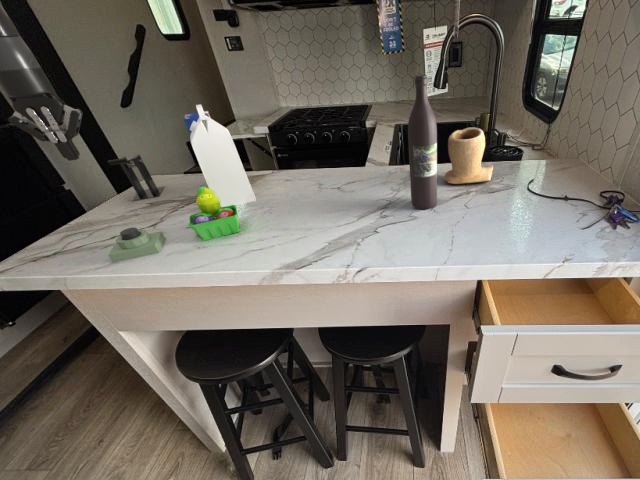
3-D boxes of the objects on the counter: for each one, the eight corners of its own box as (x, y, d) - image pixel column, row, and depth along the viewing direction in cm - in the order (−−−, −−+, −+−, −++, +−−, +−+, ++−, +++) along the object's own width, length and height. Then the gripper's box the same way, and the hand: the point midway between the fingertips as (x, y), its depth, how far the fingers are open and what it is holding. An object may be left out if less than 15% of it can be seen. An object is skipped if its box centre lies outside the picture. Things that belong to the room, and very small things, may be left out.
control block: (113, 262, 80) (102, 248, 77) (122, 247, 86) (113, 233, 83) (159, 253, 82) (150, 238, 80) (165, 238, 88) (157, 224, 86)
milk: (256, 200, 104) (223, 105, 88) (217, 210, 101) (174, 112, 84) (251, 189, 113) (219, 100, 96) (215, 197, 109) (175, 106, 93)
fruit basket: (198, 244, 84) (175, 201, 77) (198, 230, 90) (177, 189, 83) (245, 232, 87) (228, 190, 80) (242, 220, 94) (226, 179, 87)
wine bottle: (412, 210, 91) (405, 78, 72) (410, 200, 96) (404, 75, 77) (438, 208, 91) (438, 76, 72) (435, 198, 96) (435, 72, 77)
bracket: (160, 199, 111) (139, 159, 103) (133, 204, 109) (109, 164, 101) (166, 189, 119) (146, 151, 110) (141, 194, 117) (119, 155, 109)
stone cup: (445, 190, 100) (446, 135, 91) (443, 176, 110) (444, 125, 100) (497, 187, 99) (503, 132, 90) (491, 173, 108) (496, 122, 99)
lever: (127, 164, 98) (123, 155, 98) (110, 167, 97) (106, 158, 97) (143, 166, 109) (139, 158, 108) (127, 168, 108) (124, 160, 107)
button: (122, 242, 80) (117, 235, 79) (126, 235, 83) (122, 229, 82) (139, 238, 81) (134, 232, 80) (142, 232, 83) (138, 226, 82)
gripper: (62, 63, 70) (112, 151, 81) (-15, 68, 67) (47, 159, 78) (46, 65, 64) (101, 159, 75) (-40, 71, 61) (31, 168, 72)
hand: (73, 159), depth 76 cm, fingers closed
